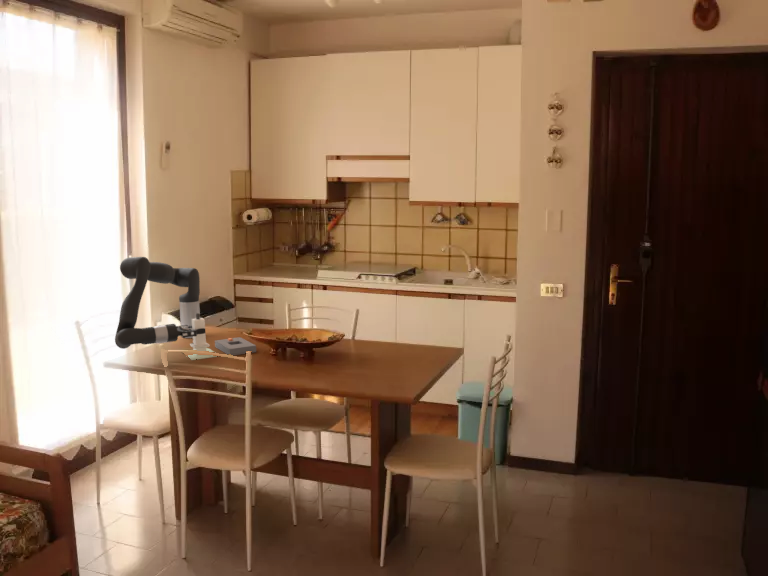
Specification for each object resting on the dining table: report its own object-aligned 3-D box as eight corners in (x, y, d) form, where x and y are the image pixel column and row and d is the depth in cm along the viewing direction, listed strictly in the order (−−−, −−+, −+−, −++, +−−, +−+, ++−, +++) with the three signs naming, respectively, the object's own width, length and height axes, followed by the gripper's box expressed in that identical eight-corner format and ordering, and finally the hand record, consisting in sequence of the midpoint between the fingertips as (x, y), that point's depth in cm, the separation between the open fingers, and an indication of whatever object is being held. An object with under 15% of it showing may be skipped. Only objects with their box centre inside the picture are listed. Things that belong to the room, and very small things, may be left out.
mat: (181, 352, 342) (181, 351, 342) (207, 349, 348) (207, 347, 348) (192, 360, 328) (191, 358, 328) (219, 356, 334) (219, 354, 334)
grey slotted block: (215, 347, 352) (214, 338, 351) (240, 343, 358) (240, 335, 357) (229, 355, 335) (229, 347, 334) (256, 352, 341) (255, 343, 340)
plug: (190, 352, 339) (188, 313, 337) (205, 350, 343) (202, 311, 340) (194, 355, 334) (192, 315, 331) (209, 353, 337) (207, 313, 334)
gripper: (168, 327, 323) (206, 323, 331) (159, 322, 335) (196, 317, 343) (169, 345, 324) (207, 340, 332) (160, 339, 336) (197, 334, 344)
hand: (202, 329), depth 337 cm, fingers open, 8 cm apart
